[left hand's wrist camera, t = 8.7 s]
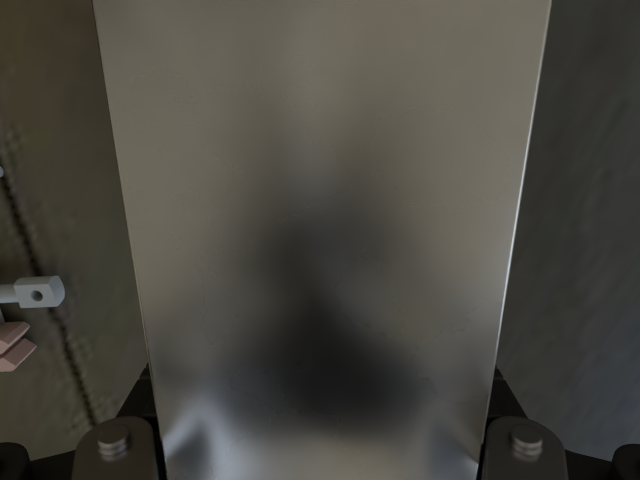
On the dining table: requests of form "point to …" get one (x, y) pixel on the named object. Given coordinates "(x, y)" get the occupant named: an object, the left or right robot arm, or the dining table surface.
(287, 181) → the bar
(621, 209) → the dining table surface
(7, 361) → the clamp
